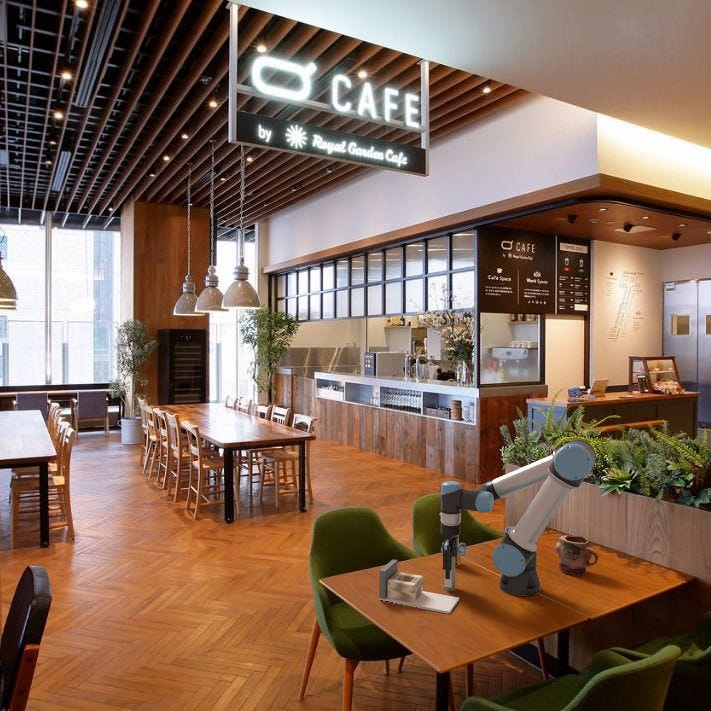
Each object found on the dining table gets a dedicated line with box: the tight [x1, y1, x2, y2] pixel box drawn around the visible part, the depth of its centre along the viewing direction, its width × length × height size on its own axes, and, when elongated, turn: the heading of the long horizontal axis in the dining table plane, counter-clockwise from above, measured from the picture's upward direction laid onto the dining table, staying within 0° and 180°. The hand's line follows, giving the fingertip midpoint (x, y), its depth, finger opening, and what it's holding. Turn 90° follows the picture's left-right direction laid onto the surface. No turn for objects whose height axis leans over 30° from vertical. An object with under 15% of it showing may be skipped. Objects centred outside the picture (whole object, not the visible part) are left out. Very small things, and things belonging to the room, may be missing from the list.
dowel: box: [443, 556, 456, 592], centre depth 232 cm, size 4×4×12 cm
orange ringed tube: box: [440, 534, 467, 567], centre depth 259 cm, size 12×10×15 cm
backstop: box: [378, 559, 460, 615], centre depth 221 cm, size 26×13×11 cm, turn 65°
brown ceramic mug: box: [554, 534, 599, 577], centre depth 250 cm, size 20×12×14 cm, turn 38°
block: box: [387, 571, 424, 602], centre depth 224 cm, size 10×10×6 cm
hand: (449, 584), depth 232 cm, fingers closed on dowel, 4 cm apart
